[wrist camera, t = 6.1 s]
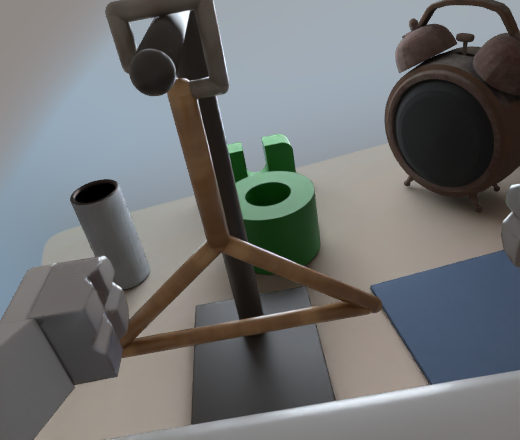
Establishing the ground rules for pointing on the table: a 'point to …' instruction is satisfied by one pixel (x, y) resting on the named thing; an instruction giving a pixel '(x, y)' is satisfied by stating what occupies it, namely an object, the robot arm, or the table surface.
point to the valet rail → (233, 267)
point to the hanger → (215, 202)
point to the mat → (458, 317)
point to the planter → (111, 230)
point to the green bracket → (277, 203)
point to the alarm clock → (456, 106)
